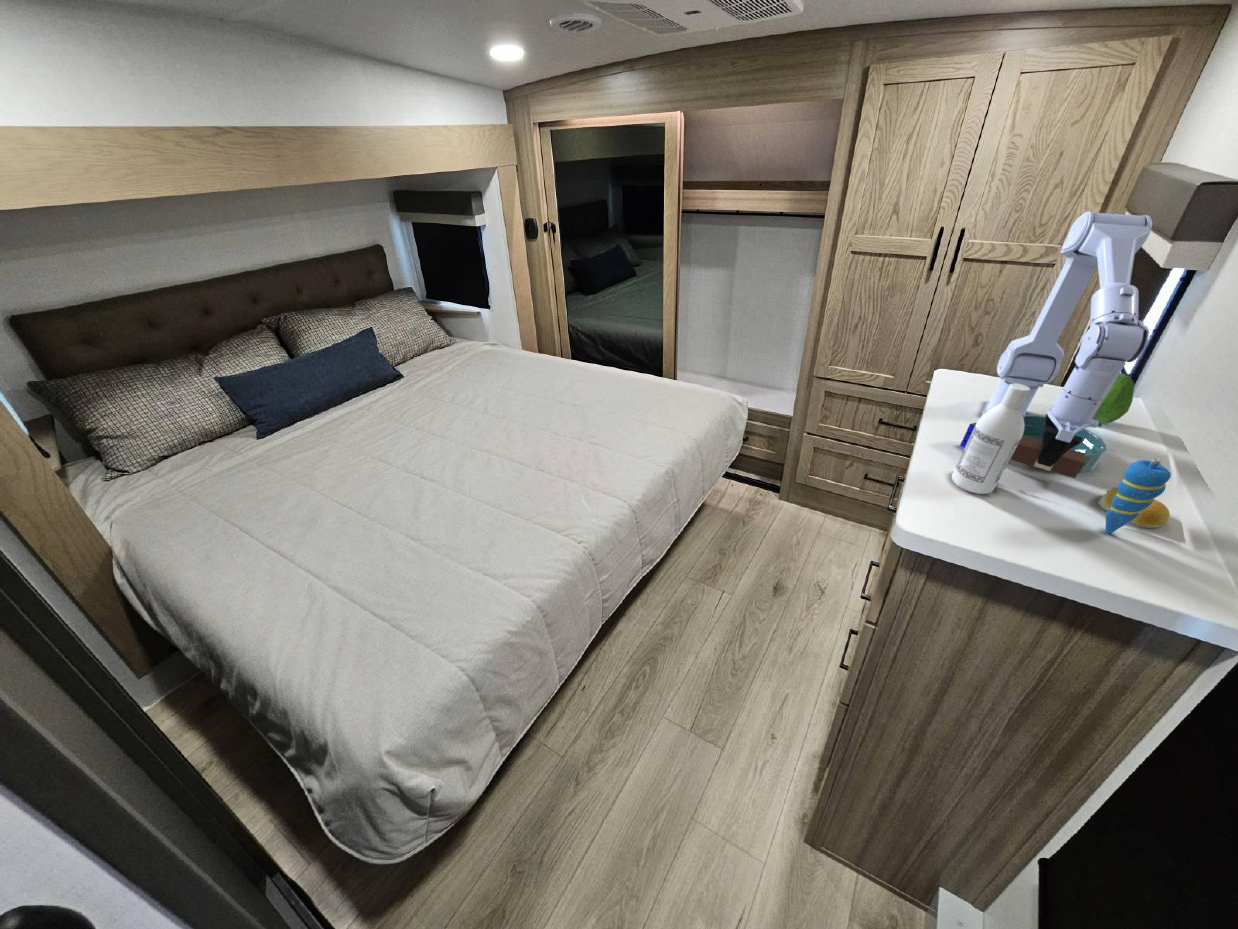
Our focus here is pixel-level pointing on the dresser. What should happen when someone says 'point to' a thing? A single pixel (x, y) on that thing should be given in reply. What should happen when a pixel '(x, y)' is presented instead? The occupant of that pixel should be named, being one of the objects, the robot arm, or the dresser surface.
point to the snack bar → (1065, 465)
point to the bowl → (1089, 446)
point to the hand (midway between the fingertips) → (1044, 459)
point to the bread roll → (1148, 517)
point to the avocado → (1116, 400)
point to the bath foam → (992, 443)
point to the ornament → (1136, 492)
